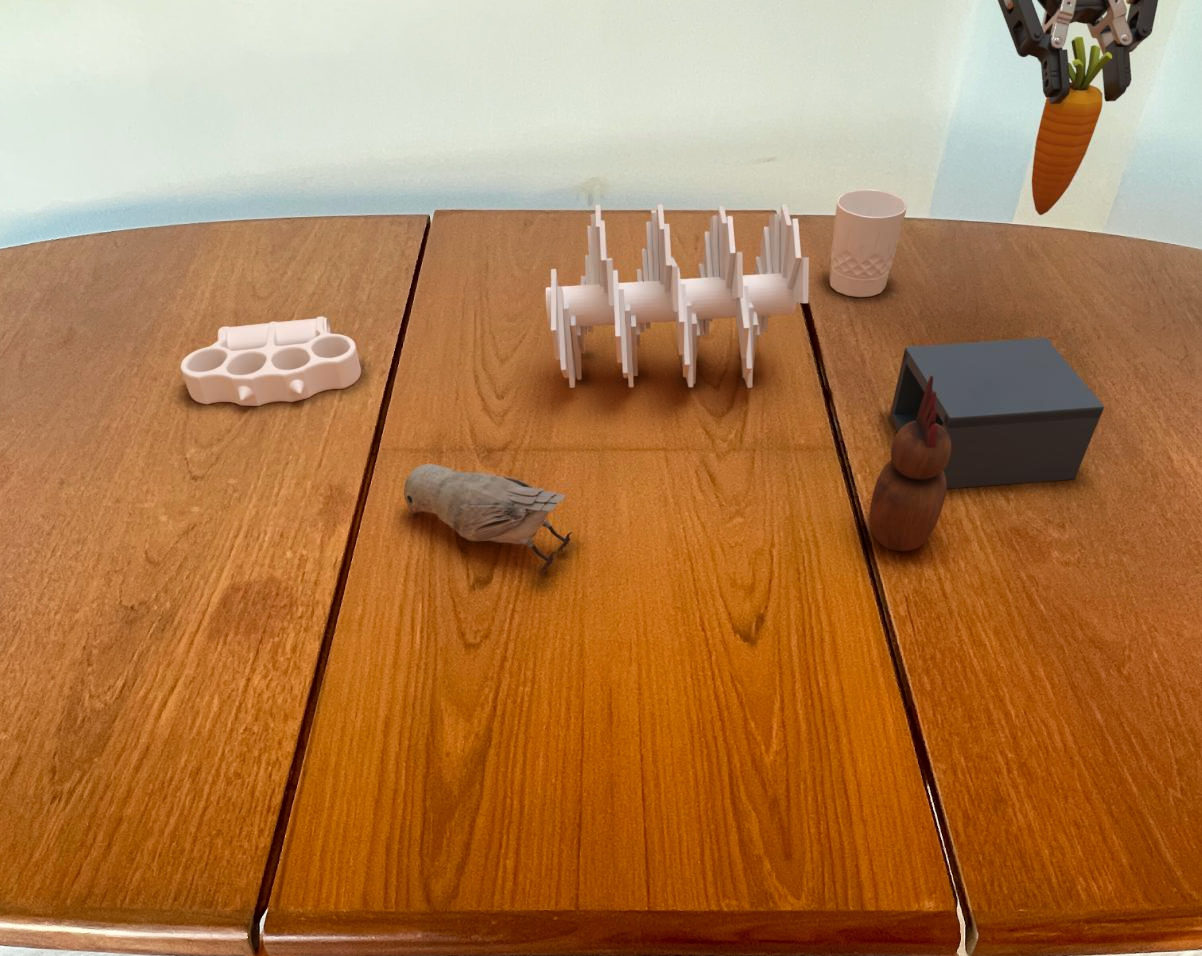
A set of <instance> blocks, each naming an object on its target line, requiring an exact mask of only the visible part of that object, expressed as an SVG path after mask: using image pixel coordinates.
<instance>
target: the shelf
mask: <svg viewBox="0 0 1202 956" xmlns="http://www.w3.org/2000/svg"><path fill="white" fill-rule="evenodd" d="M930 376H933V386H932V394H933V392H936V400H935V408H934V410H937V415H936V422H935V423H936V424H939V425H941V426H942V427H943V428H944V429H945V430H946V431H947V433H948V434H949V436H950V438H951V454H950V458H949V461H948V464H947V465H946V467H945V469H944V474H945V477H946V490H952V489H963V488H976V487H977V488H979V487H988V486H989V487H990V486H1002V485H1015V484H1027V483H1039V482H1040V483H1042V482H1052V481H1053V482H1054V481H1066V480H1067V481H1068V480H1075V479H1076V477H1077V476H1078V475H1077V474H1078V472H1079V470H1080V467H1081V465H1082V463H1083V460H1084V457H1085V455H1086V453H1087V451H1088V448H1089V446H1090V443H1091V441H1092V438H1093V436H1094V433H1095V431H1096V429H1097V426H1098V424H1099V421H1100V419H1101V416H1102V414H1103V412H1104V409H1105V405H1104V404H1103V403H1102V401H1101V400H1100V399H1099V398H1098V397H1097V395H1095V394H1094V392H1093V391H1092V390H1091V388H1090V387H1089V386H1088V385H1087V384H1086V383H1085V381H1084V380H1083V379H1082V378H1081V376H1079V375H1078V373H1077V372H1076V371H1075V369H1074V368H1073V367H1072V365H1070V364H1069V363H1068V361H1066V359H1065V358H1064V356H1062V354H1061V353H1060V352H1059V351H1058V349H1057V348H1056V347H1055V346H1054V344H1053V343H1052V342H1051V341H1050V340H1049V339H1048V338H1047V337H1031V338H1019V339H1003V340H1002V339H1001V340H989V341H975V342H974V341H973V342H960V343H959V342H958V343H944V344H929V345H915V346H905V347H904V351H903V356H902V359H901V366H900V369H899V374H898V378H897V382H896V387H895V390H894V395H893V399H892V403H891V408H890V412H889V416H888V418H889V420H890V421H891V423H892V426H893V427H894V429H895V431H896V432H897V433H898V431H899V430H900V429H901V428H902V427H903V426H904V425H906V424H907V423H909V422H913V421H916V418H917V415H918V412H919V409H920V406H921V402H922V399H923V396H924V393H925V390H926V387H927V384H928V381H929V378H930Z"/></svg>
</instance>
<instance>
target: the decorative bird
mask: <svg viewBox="0 0 1202 956" xmlns="http://www.w3.org/2000/svg"><path fill="white" fill-rule="evenodd" d="M403 489H404V490H403V495H404V499H405V502H406V505H407V507H408V509H409V510H410V511H411V512H412V513H413V514H418V513H423V512H425V513H426V512H427V513H432V514H435V515H436V516H437V517H438V518H439V520H441V521H442V522H443V523H444V524H446V525H448V526H449V527H450V528H451V529H453V530H454V531H455V532H456V533H457V534H458V535H459V536H460V537H462V538H464V539H465V540H466V541H470V542H482V541H483V542H484V541H485V542H486V541H490V542H493V543H501V544H505V543H507V544H508V543H509V544H513V545H525V546H526V547H528V548H531V549H532V550H533V552H534V553H535V555H538V557H540V558H541V559H543V560H544V561H545V562H546V563H545V564H544V565H543V566H542V568H541V569H540V577H542V574H543V571H544V572H545V573H547V568H548V567H550V565H551V564H552V565H553V562H554V560H555V558H554V555H555V553H556V558H558V557H559V552H561V553H563V550H564V549H563V548H566V547H567V546H568V545H569V543H570V541H571V538H570V537H571V534H573V533H574V532H573V531H571V532H569V533H567V534H566V536H565V537H563V536H562V535H560V534H558V533H557V532H556V530H555V529H554V527H553V526H552V525H551V523H550V522H549V521H548V520H547V516H548V514H549V513H550V512H553V511H554V510H555V509H556V507H557V504H558V503H561V502H563V500H564V499H565V497H566V496H567V494H566V493H565V494H563V493H557V491H550V490H546V488H540V487H539V488H538V487H534V486H532V485H530V484H528V483H527V482H525V481H522V480H520V479H518V478H515V477H510V476H509V477H508V476H498V475H495V474H492V473H486V472H464V471H458V470H455V469H451V468H450V467H449V468H448V467H446V466H443V465H439V464H435V463H426V464H422V465H419V466H416V467H415V468H413V470H412V471H411V472H410V473H409V474H408V476H407V478H406V479H405V483H404V488H403ZM541 527H544V528H547V529H548V530H549V531H550V533H551V534H552V535H553V536H554V537H556V538H557V539H558V540H560V541H561V542H562V543H561V544H560V546H559V547H558V549H557V551H553V552H552V553H550V555H549V557H548V556H546V555H544V554H543V553H541V552H540V551H539V549H538V548H537V546H536V545H535V544H534V542H533V541H532V538H534V537H535V536H536V534H537V533H538V531H540V529H541Z"/></svg>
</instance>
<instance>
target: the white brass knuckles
mask: <svg viewBox="0 0 1202 956" xmlns="http://www.w3.org/2000/svg"><path fill="white" fill-rule="evenodd" d="M180 372H181V374H182V377H183V380H184V383H185V385H186V389H187V391H188V393H189V396H190V397H191V399H192V400H194V401H195V402H197V403H200V404H202V405H210V404H215V403H234V404H237V405H238V406H242V407H243V406H244V407H250V406H251V407H260V406H262V405H266V404H269V403H270V404H271V403H276V402H287V403H293V402H298V401H303V400H306V399H309V398H311V397H313V396H314V395H316V394H319V393H322V392H325V391H329V390H330V391H331V390H344V389H346V388H349V387H351V386H352V385H354V384H356V383H357V382H358V380H359V379H360V377H361V375H362V368H361V363H360V359H359V354H358V348H357V344H356V342H355V341H354V340H353V339H352V338H351V337H349V336H347V335H344V334H339V333H331V326H330V321H329V317H325V316H317V317H316V318H308V319H297V320H287V321H269V322H267V323H266V322H265V323H257V324H247V325H237V326H227V325H226V326H221V327H220V328H218V331H217V341H215V342H214V343H213V344H211V345H210V346H206V347H203V348H198V349H197V350H193V352H191V353H189V354H187V356H185V357H184V358H183V360H182V361H181V363H180Z"/></svg>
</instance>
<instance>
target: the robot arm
mask: <svg viewBox="0 0 1202 956" xmlns="http://www.w3.org/2000/svg"><path fill="white" fill-rule="evenodd" d="M1036 1H1037V2H1038V4H1039V5H1040V6H1041V7H1042V8H1043V10H1044V14H1043V18H1042V23H1041V21H1040V19H1039V15H1038V12H1037V10H1036V7H1035V4H1034V2H1033V0H997V2H998V5H999V8H1000V10H1001V13H1002V15H1003V18H1004V20H1005V24H1006V26H1007V29H1008V31H1009V34H1010V37H1011V39H1012V42H1013V45H1014V47H1015V50H1016V53H1017V55H1018V56H1019V57H1021V58H1026V57H1029V56H1030V57H1034V58H1036V59H1037V61H1038V62H1039V63H1040V68H1041V69H1040V70H1041V80H1042V81H1041V82H1042V92H1043V93H1042V94H1043V95H1044V96H1045V98H1047V97H1049V103H1050V104H1060V103H1061V102H1062V101H1063V100H1064V99H1065V98H1066V97H1067V96H1068V95H1069V92H1070V82H1071V79H1070V78H1069V65H1068V63H1069V53H1068V49H1063V47H1064V46H1065V45H1066V41H1067V37H1068V31H1069V27H1070V24H1073V23H1079V24H1084V25H1086V26H1087V29H1088V31H1089V34H1090V36H1091V38H1092V39H1096V40H1097V43H1098V47H1099V48H1100V52H1101V54H1102V56H1103V55H1104V54H1105V53H1107V52H1109V53H1110V54H1111V55H1112V58H1111V60H1110V61H1109V62H1108V63H1107V64H1106V65H1105V66H1104V67H1103V68H1102V69H1101V72H1102V84H1103V85H1102V86H1103V94H1104V97H1103V98H1104V101H1105V102H1107V103H1108V102H1116V101H1117V100H1118V99H1119V98H1121V96H1123V95H1124V94H1125V93H1126V91H1127V89H1128V88H1129V87H1130V86H1131V84H1132V83H1131V82H1132V69H1131V55H1130V53H1132V52H1133V51H1135V50H1136V49H1137V47H1138V46H1139V45H1141V43H1143V42H1144V41H1145V40H1147V39H1148V37H1150V36H1151V34H1152V33H1153V29H1154V23H1155V19H1156V14H1157V8H1158V3H1159V0H1036ZM1126 4H1127V5H1129V8H1128V7H1127V6H1126ZM1127 8H1128V10H1127ZM1127 12H1128V13H1127ZM1104 15H1105V16H1104ZM1103 16H1104V17H1103ZM1126 16H1127V18H1126Z"/></svg>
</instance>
